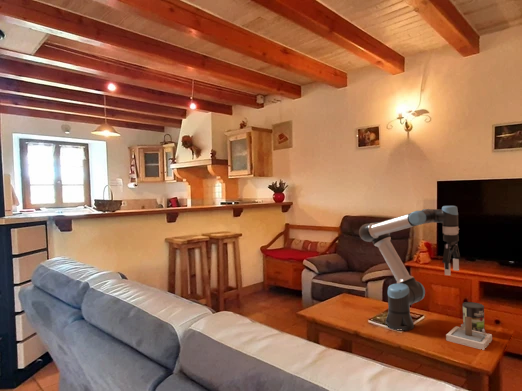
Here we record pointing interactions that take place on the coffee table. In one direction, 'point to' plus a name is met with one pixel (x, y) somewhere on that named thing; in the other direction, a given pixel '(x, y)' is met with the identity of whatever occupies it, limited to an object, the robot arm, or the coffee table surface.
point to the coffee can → (474, 315)
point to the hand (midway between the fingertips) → (452, 272)
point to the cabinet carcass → (469, 342)
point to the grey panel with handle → (469, 332)
